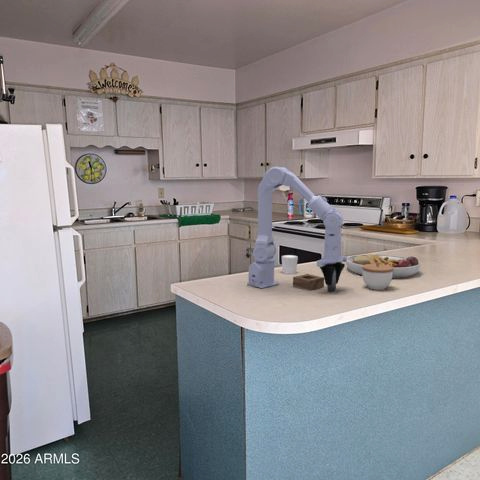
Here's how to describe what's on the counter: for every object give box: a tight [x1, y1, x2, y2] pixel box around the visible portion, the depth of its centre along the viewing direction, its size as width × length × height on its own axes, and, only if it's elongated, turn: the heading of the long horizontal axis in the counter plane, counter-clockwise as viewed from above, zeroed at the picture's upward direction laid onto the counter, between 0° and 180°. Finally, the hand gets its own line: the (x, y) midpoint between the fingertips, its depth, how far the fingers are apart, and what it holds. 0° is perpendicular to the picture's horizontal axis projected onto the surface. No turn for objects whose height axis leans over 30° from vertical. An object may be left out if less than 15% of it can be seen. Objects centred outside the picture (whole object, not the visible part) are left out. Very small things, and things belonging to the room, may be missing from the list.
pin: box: [326, 268, 337, 293], centre depth 147 cm, size 3×3×8 cm
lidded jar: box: [361, 262, 393, 291], centre depth 151 cm, size 11×11×9 cm
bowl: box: [345, 253, 421, 279], centre depth 178 cm, size 30×30×8 cm
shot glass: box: [281, 254, 299, 275], centre depth 177 cm, size 7×7×7 cm
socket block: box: [292, 273, 325, 291], centre depth 153 cm, size 8×8×4 cm
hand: (331, 283), depth 147 cm, fingers closed on pin, 3 cm apart
